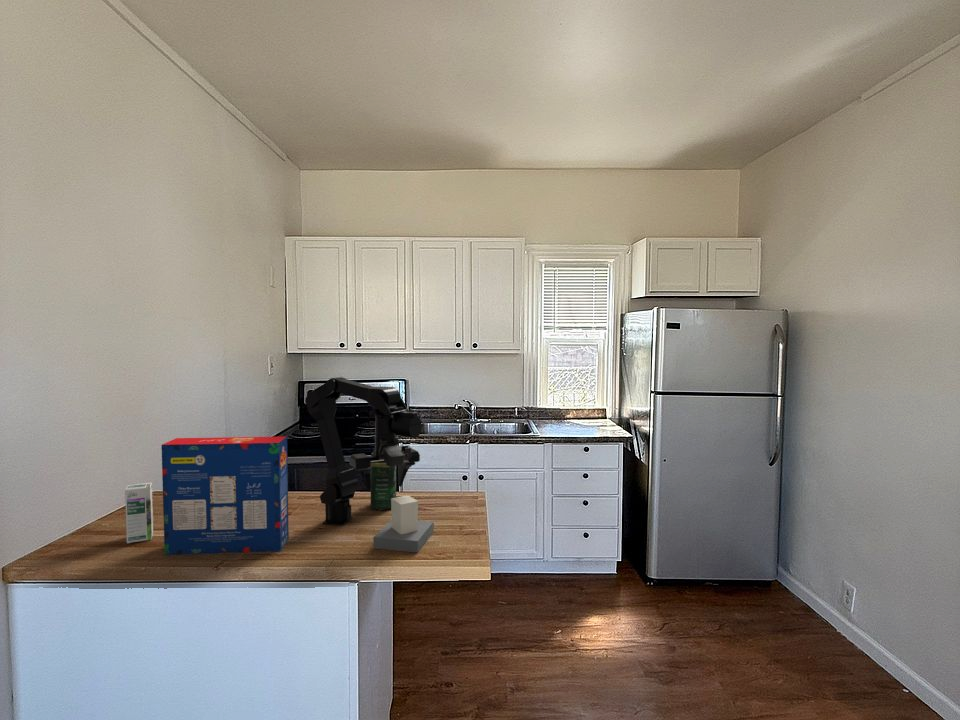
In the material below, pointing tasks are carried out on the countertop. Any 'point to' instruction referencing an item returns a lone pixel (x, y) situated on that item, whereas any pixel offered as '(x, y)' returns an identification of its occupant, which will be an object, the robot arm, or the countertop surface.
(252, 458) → the blue cardboard box
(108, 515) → the countertop surface
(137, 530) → the syrup box
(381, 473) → the coffee jar
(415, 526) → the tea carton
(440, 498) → the countertop surface
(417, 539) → the podium
